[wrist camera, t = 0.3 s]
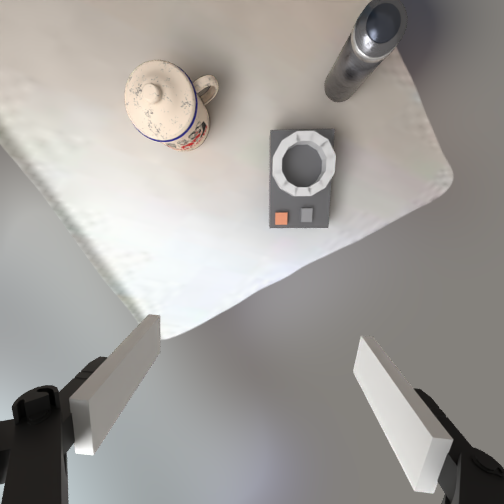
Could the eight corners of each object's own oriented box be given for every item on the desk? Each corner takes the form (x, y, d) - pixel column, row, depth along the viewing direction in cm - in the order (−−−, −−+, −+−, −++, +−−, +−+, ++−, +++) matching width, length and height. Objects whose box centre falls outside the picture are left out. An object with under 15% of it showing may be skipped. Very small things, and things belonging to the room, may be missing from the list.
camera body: (269, 136, 38) (271, 125, 31) (327, 135, 37) (340, 123, 31) (269, 224, 41) (270, 230, 35) (321, 224, 41) (333, 230, 34)
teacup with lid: (175, 164, 39) (139, 151, 28) (143, 111, 38) (93, 74, 26) (237, 124, 38) (227, 94, 26) (208, 67, 36) (183, 8, 25)
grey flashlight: (324, 67, 35) (360, -7, 22) (357, 66, 35) (413, -9, 22) (322, 103, 36) (356, 52, 24) (354, 102, 36) (405, 51, 23)
